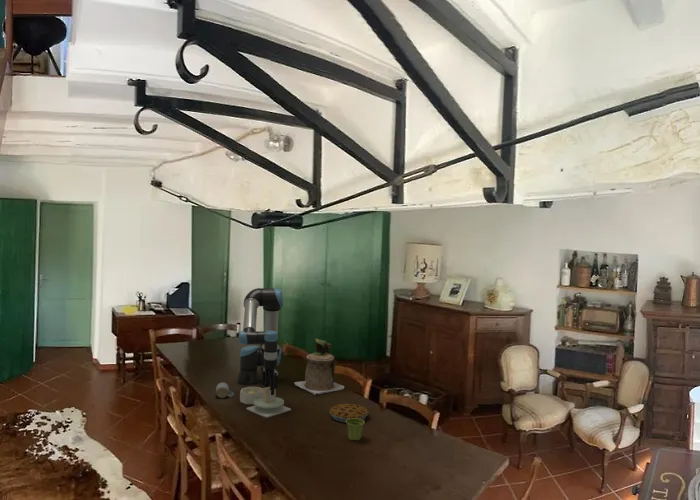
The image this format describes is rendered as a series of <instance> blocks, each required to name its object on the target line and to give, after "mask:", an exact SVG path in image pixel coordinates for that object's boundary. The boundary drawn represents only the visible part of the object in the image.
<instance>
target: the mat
mask: <svg viewBox="0 0 700 500" xmlns="http://www.w3.org/2000/svg"><path fill="white" fill-rule="evenodd" d="M246 410H247V411H249V412H251V413H254V414H256V415H259V416H261V417H263V418H265V419H266V418H267V419H268V418H271V417H274V416H277V415H281V414H284V413H287V412H290V411H292V409H291V408H290V407H287V406H284V405H283V406H281V407H278V408H271V409H265V408H259V407H256V406H255V405H252V406H248V407H246Z"/></svg>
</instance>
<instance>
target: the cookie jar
mask: <svg viewBox="0 0 700 500" xmlns="http://www.w3.org/2000/svg"><path fill="white" fill-rule="evenodd" d="M314 346H315V349H316V350H315V351H314V352H313V353H310V354H307V355H306V356H305V357H306V361H307V362H306V368H305V374H304V375H305V376H304V380H303V381H295V382H294V385H295V387H297V388H298V387H299V388H300V389H302V390H304V391H306V392H309V393H310V394H312V395H314V396H316V395H323V394H325V393H326V394H327V393H332V392H337V391H342V390H344V389H345V386H344V385H342V384H339V383H338V382H335V378H334V377H335V370H336V363H335V360H336V359H335V356H334V355H333V354H331V353H330V350H331V347H332V344H331V343H328V342H327V341H326V340H323V339H319V338H315V344H314Z"/></svg>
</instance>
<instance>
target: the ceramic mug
mask: <svg viewBox="0 0 700 500" xmlns="http://www.w3.org/2000/svg"><path fill="white" fill-rule="evenodd" d="M215 394H216V397H218V398H219V399H224V398H225V399H226V397H228V398H233V397H234V395H235V394H234V392H233V391H231V390H230V387H229V385H228V383H226V382H219V383H218V384H217V385H216V387H215Z"/></svg>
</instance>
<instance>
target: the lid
mask: <svg viewBox="0 0 700 500" xmlns="http://www.w3.org/2000/svg"><path fill="white" fill-rule="evenodd" d="M262 388H263V397H261V398H257V399H255V400H254V404H253V406H256V407H259V408H265V409H271V408H278V407H281V406H284V405H285V400H284V399H283V398H281V397H276V393H277V389H274V400H272V401H269V389H270V385H269V387H262Z"/></svg>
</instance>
